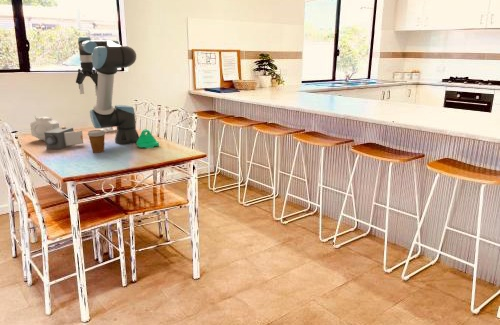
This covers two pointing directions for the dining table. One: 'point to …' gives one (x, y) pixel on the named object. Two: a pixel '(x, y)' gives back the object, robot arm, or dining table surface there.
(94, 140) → the disposable coffee cup
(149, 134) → the green triangular piece
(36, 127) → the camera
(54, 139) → the box
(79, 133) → the side door
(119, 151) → the dining table surface
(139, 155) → the dining table surface
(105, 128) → the white piece
